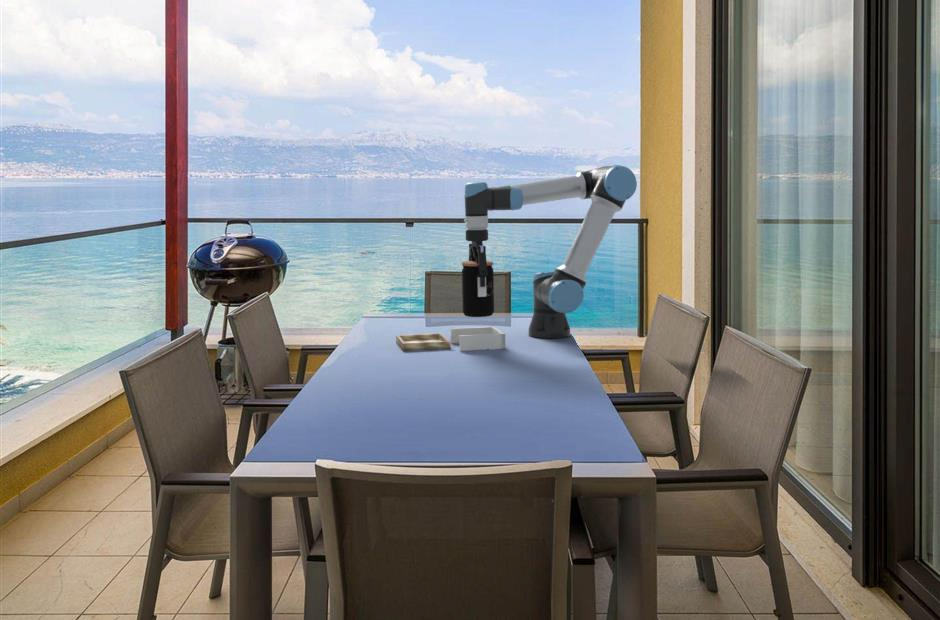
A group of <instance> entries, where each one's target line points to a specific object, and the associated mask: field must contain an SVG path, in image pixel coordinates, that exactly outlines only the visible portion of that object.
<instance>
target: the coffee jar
mask: <svg viewBox="0 0 940 620" xmlns="http://www.w3.org/2000/svg"><path fill="white" fill-rule="evenodd" d="M486 261H487V271H488V275H487V276H486V297H478V277H476V276H477V275H478V270H477V266H478V265H479V263H476V261H469V260H467V261H462V262H461V266H462V267H463V268H462V269H461V284H462V285H461V287H462V288H461V289H462V290H461V292H462V293H461V294H462V298H461V299H462V313H463V315H464V316H465V317H470V318H485V317H490V316H491V317H492V316H493V314H494V312H495V290H494V289H495V288H494V285H495V283H494V278H495V277H494V268H493V265H494V261H492V260H486Z"/></svg>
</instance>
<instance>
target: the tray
mask: <svg viewBox="0 0 940 620" xmlns="http://www.w3.org/2000/svg"><path fill="white" fill-rule="evenodd" d="M395 343H396V344H397V345H398V347H399V349H401V350H402V352H411V351H413V352H414V351H430V350H431V351H432V350H449V349H450V350H451V340H449V338H448V337H446V336H445V335H444V334H443V333H441V332H440V333H423V334H422V333H421V334H419V333H418V334H397V335H395Z"/></svg>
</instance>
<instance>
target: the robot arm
mask: <svg viewBox="0 0 940 620" xmlns="http://www.w3.org/2000/svg"><path fill="white" fill-rule="evenodd" d="M637 185H638V182H637V178H636V175H635V174H634V172H633V171H632V170H631V169H630V168H629V167H627V166H624V165H620V164H619V165H618V164H614V165H608V166H607V165H605V166H600V167H598V168H593V169H590V170H586V171H582V172H581V171H580V172H579V171H578V173H576V175H574V176H573V175H572V176H565V177H558V178H552V179H545V180H544V179H543V180H539V181H538V180H537V181H531V182H525V183H524V182H523V183H517V184H510V185H504V186H496V187H495V186H493V187H489V186H488V184H487V182H484V181H482V182H480V181H478V182H466V184H465V185H464V209H465V210H464V211H465V212H464V213H465V217H464V218H465V219H463V222H464V223H465V228H466V230H465V240H466V242H471V243H469V244H468V261H476V263H479V265H478V266H477V270H478V275H477V276H476V277H478V297H486V276H487V275H488V271H487V261H488V260H487V251H486V249H487V248H486V245H484V244H483V242H487V241H489V230H488V228H489V216H488V215H489V213H488V212H489V211H491V212H492V211H516V210H521V209H522V208H523V206H526V205H532V204H533V205H534V204H541V203H548V202H554V201H563V200H567V199H568V200H569V199H575V198H576V199H577V198H579V200H580V199H581V200H588V199H589V200H591V204H590V207H589V208H588V211H587V213H586V215H585V217H584V219H583V221H582V222H581V225H580V227H579V229H578V231H577V234H576V236H575V238H574V240H573V241H572V244H571V245H570V248H569V250H568V252H567V254H566V256H565V258H564V261H563V263H562V265H560V266H557V267H556V268H555V269H554V271H545V272H544V271H543V272H542V271H541V272H535V273H534V274H533V281H532V284H533V297H532V298H533V302H532V303H533V308H532V309H533V315H532V317H531V320H530V323H529V327H528V336H529V337H533V338H538V339H539V338H540V339H563V338H567V337H570V336H571V327H570V323H569V320H568V318H567V315H566V314H569V313H572V312H574V311H576V310H577V309H579V307H580V306H581V305H582V303H583V301H584V294H585V293H584V289H585V286H586V284H587V282H588V281H587V278H586V274H587V273H588V270H589V268H590V266H591V264H592V262H593V259H594V258H595V255H596V253H597V251H598V249H599V247H600V246H601V245H600V244H601V243H602V241H603V239H604V236H605V235H606V232H607V230H608V228H609V226H610V224H611V221H612V219H614V216H615V214H616V213H618V212H620V211H622V210H623V207H624V205H625V203H626V201H627V200H629V199H631V198H632V197H633V196H634V194H635V193H636V190H637V187H638V186H637Z"/></svg>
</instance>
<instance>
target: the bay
mask: <svg viewBox="0 0 940 620" xmlns="http://www.w3.org/2000/svg"><path fill="white" fill-rule="evenodd" d="M450 344H459V346H458V347H459V351H460V352H463V351H464V352H465V351H482V350H485V351H486V350H487V349H489V350H503V349H504V350H505V349H506V333H504V332H503V331H501V330H500V329H498V328H497V327H495V326H482V327H481V326H479V327H478V326H476V327H455V328H454V327H453V328H452V327H451V328H450Z"/></svg>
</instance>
